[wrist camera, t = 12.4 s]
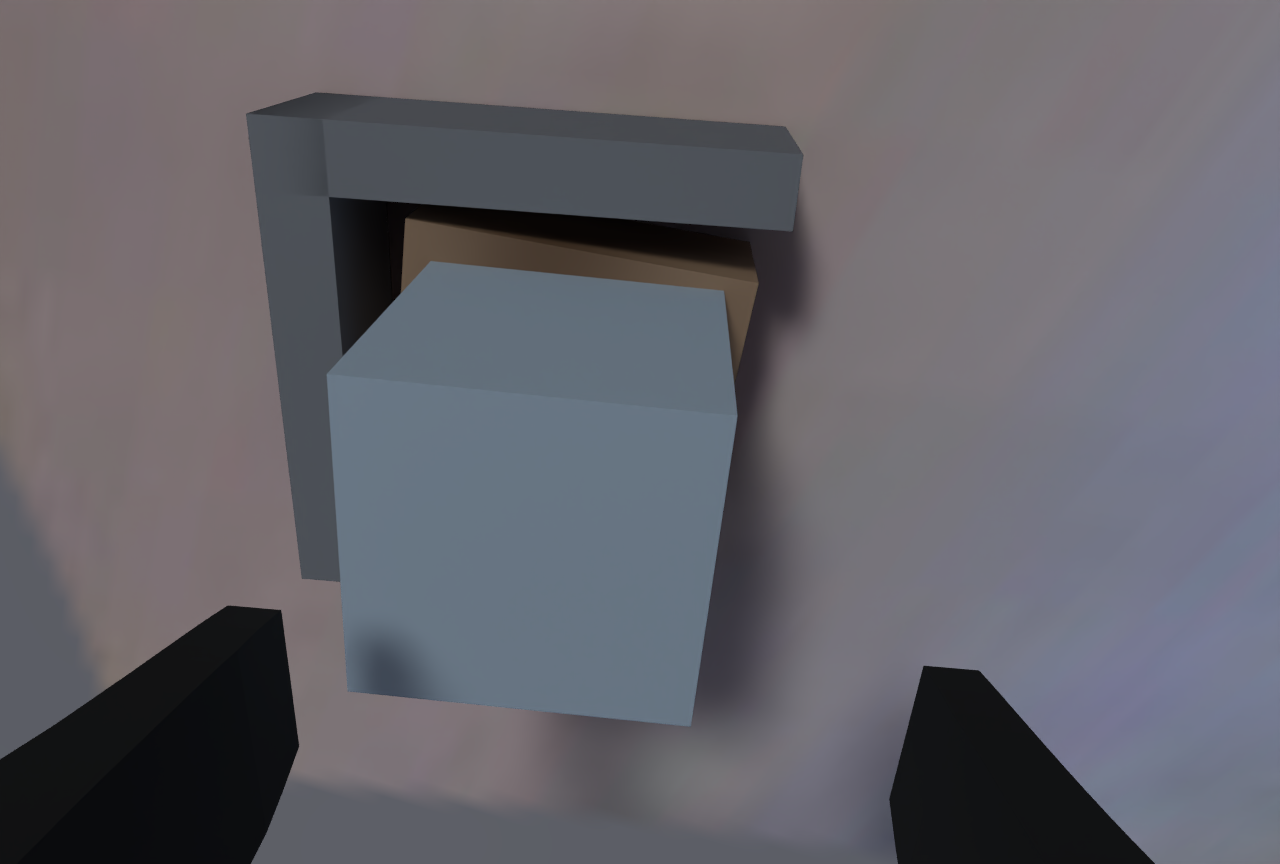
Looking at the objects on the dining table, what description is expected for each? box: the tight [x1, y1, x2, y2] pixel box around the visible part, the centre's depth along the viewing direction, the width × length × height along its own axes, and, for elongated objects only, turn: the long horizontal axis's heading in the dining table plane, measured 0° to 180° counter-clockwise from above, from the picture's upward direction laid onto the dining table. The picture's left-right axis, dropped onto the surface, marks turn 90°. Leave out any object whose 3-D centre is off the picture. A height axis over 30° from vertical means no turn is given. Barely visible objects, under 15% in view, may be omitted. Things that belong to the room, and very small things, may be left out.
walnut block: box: [401, 204, 759, 384], centre depth 18 cm, size 6×6×3 cm
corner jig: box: [246, 93, 803, 582], centre depth 18 cm, size 9×9×3 cm
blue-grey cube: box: [327, 261, 738, 727], centre depth 15 cm, size 5×5×5 cm
